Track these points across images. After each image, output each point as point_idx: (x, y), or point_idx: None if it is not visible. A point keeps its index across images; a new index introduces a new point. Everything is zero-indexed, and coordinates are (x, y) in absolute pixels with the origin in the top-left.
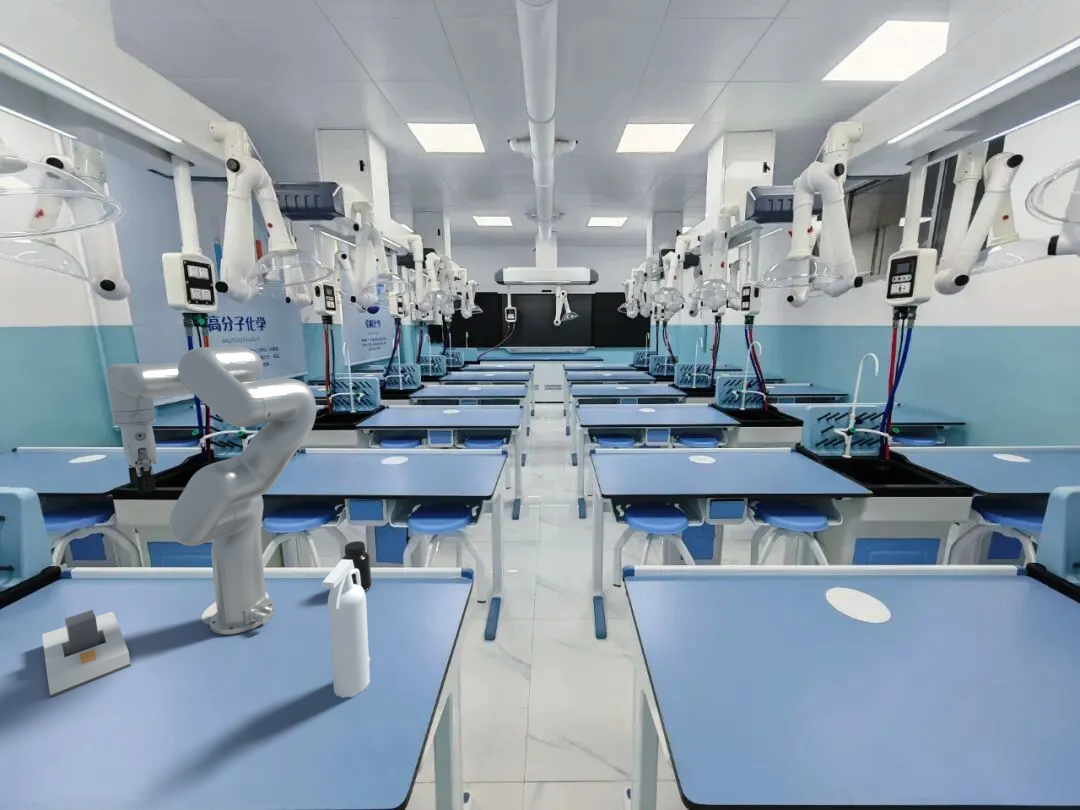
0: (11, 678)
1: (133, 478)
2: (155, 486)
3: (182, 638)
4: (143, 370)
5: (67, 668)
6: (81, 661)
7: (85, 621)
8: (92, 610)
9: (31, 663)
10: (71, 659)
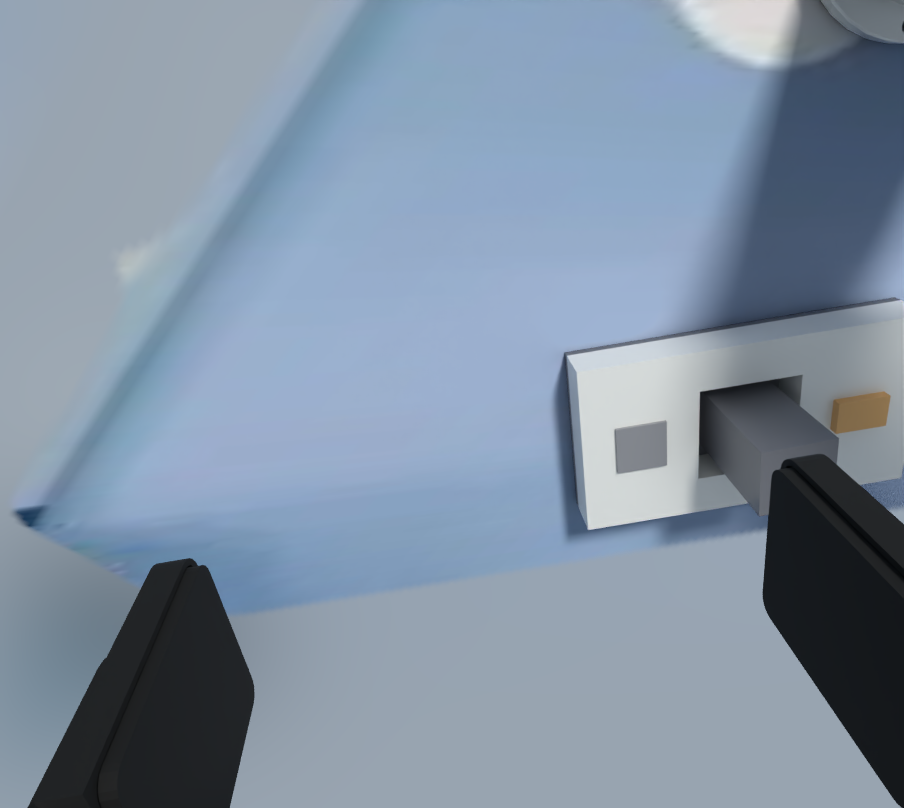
0: (692, 537)
1: (234, 734)
2: (854, 480)
3: (868, 148)
4: None
5: (869, 449)
6: (885, 425)
7: (834, 461)
8: (767, 452)
9: None
10: None
